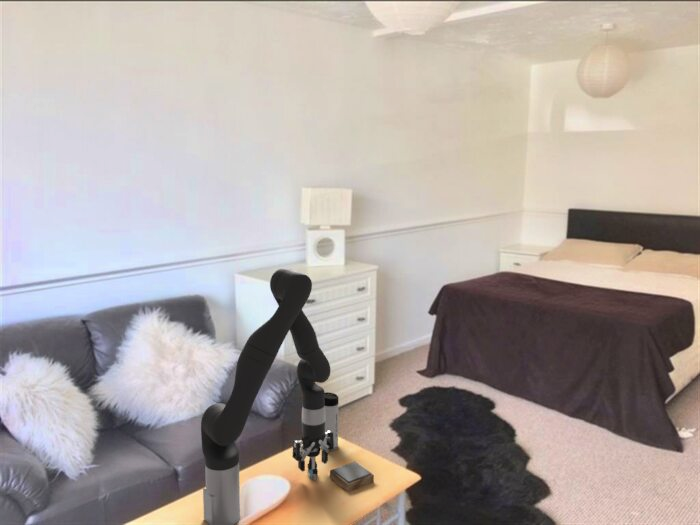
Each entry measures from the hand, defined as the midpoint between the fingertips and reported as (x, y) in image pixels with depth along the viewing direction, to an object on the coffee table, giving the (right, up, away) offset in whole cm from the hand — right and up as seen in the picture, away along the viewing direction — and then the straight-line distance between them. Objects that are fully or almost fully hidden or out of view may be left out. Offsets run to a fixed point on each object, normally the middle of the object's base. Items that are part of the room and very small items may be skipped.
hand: (313, 466), depth 182 cm
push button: (0, -3, +1) cm, 4 cm away
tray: (+12, -4, -1) cm, 13 cm away
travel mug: (+4, 0, +20) cm, 20 cm away
